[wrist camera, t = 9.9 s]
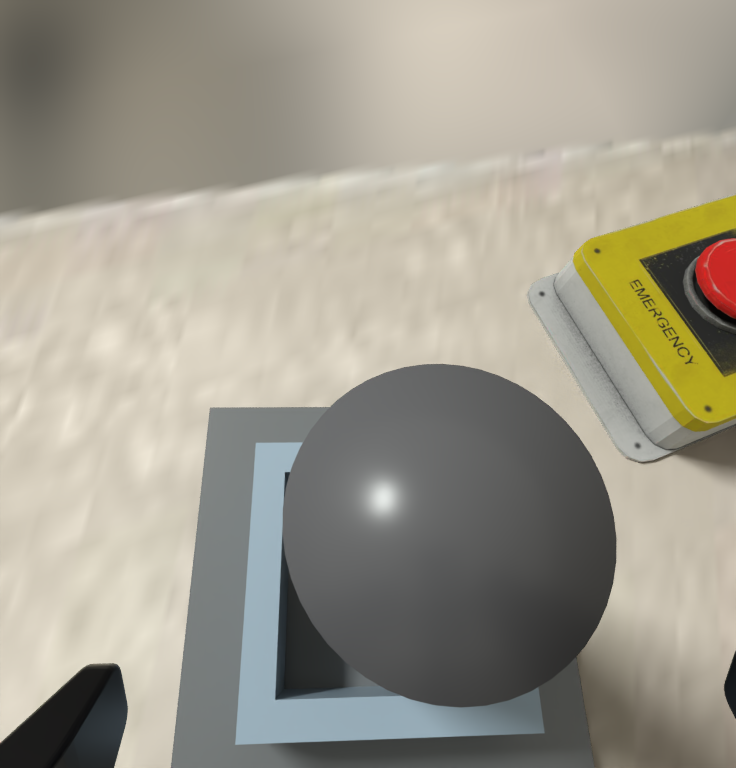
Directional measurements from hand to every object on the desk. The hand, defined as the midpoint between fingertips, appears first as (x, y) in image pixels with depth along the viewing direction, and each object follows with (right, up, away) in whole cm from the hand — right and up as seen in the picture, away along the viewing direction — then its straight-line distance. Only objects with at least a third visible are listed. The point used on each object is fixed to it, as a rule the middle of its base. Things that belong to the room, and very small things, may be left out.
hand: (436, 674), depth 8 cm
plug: (-1, -3, +11) cm, 11 cm away
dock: (-1, -3, +11) cm, 11 cm away
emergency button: (+15, +7, +17) cm, 23 cm away
